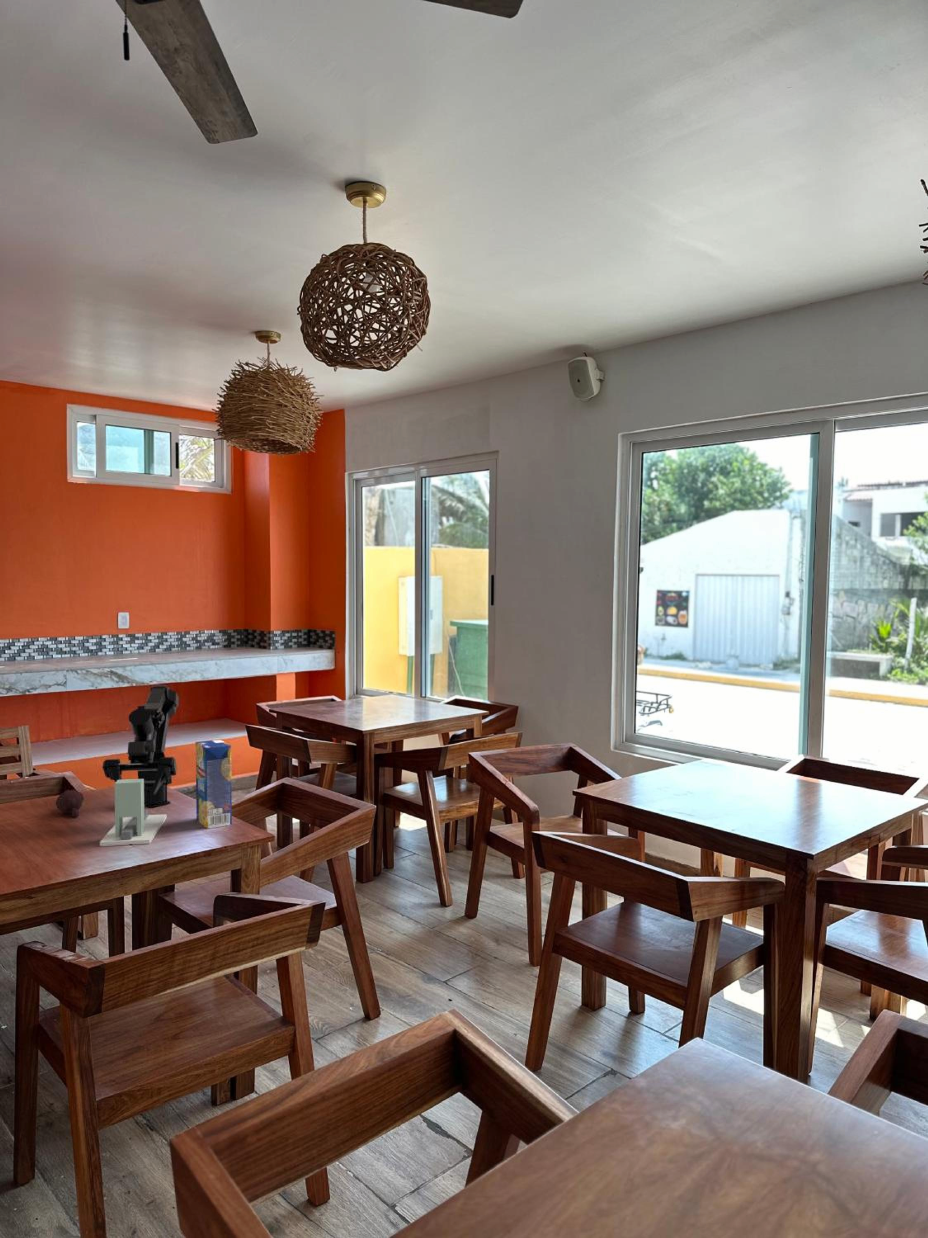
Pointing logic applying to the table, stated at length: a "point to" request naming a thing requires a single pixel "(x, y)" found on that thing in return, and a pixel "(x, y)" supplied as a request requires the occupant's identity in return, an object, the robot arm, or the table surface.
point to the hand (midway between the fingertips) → (136, 794)
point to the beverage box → (213, 783)
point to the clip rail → (143, 839)
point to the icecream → (70, 802)
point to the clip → (129, 803)
